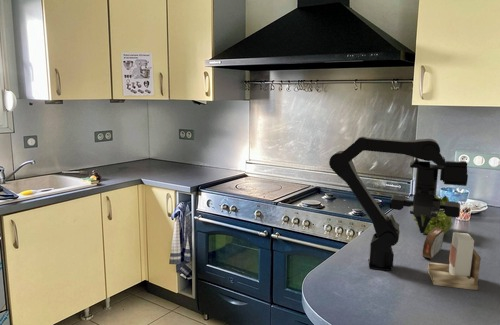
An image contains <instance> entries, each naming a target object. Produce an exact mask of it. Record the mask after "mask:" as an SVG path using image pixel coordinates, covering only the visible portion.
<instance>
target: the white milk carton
mask: <svg viewBox="0 0 500 325" xmlns="http://www.w3.org/2000/svg"><path fill="white" fill-rule="evenodd" d="M451 239H452V240H451V244H450V246H449V247H450V249H449V256H448V258H449V259H448V261H449V272H450V274H451V275H455V276H464V277H467V276H470V271H471V263H472V255H473V249H474V245H475V240H474V239H473V237H472V236H471V235H470V234H469V233H464V232H454V231H453V233H452V238H451Z"/></svg>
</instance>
